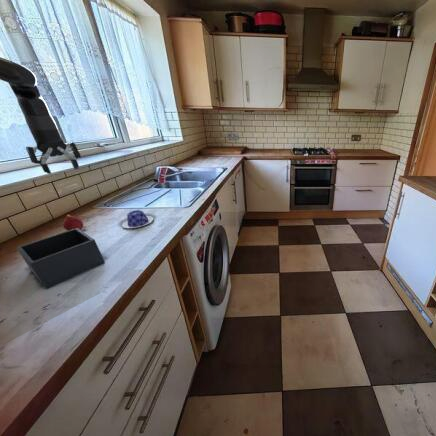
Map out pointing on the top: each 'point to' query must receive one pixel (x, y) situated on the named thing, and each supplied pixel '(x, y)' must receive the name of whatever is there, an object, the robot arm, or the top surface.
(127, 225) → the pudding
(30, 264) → the trash bin
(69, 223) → the onion
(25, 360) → the top surface
